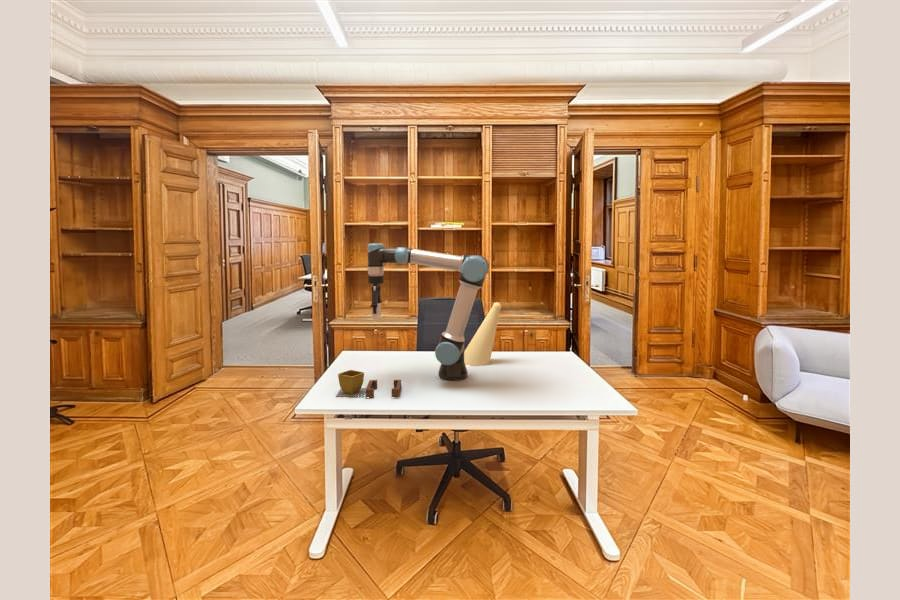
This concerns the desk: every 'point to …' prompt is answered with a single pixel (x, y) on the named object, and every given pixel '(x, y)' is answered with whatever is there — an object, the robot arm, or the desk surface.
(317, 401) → the desk surface
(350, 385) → the flower pot
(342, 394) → the slate mat
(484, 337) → the cone light
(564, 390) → the desk surface
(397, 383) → the pair of brown brackets
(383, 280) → the robot arm
